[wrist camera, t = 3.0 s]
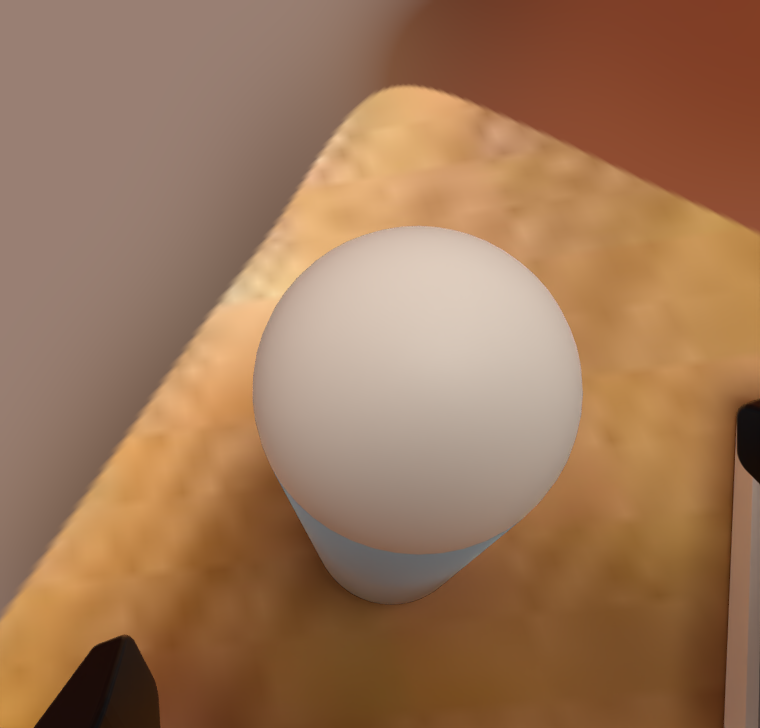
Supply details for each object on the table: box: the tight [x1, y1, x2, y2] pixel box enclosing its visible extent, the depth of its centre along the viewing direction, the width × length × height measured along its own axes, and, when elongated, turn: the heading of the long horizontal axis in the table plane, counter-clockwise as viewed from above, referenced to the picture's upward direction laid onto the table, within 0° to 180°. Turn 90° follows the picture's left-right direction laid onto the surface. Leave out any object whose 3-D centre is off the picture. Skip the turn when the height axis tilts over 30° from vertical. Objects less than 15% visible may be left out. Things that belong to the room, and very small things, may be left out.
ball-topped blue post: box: [253, 226, 583, 605], centre depth 12 cm, size 4×4×12 cm
